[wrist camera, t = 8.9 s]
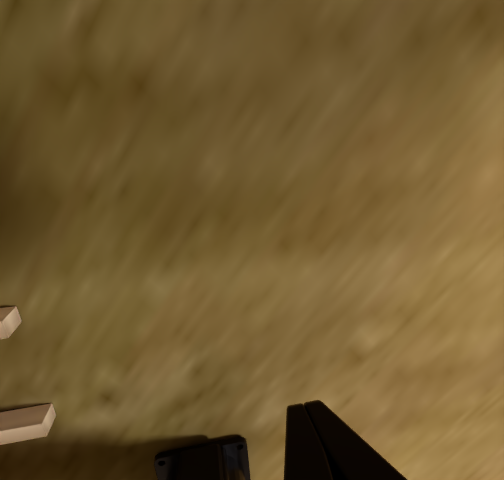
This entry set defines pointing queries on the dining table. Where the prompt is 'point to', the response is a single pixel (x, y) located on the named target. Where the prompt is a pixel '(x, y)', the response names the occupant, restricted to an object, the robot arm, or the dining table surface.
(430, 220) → the dining table surface
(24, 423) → the guide track
